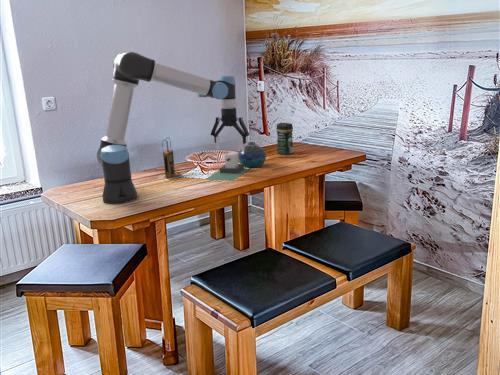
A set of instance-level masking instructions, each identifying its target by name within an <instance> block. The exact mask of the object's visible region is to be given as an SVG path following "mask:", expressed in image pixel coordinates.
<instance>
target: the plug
mask: <svg viewBox="0 0 500 375" xmlns="http://www.w3.org/2000/svg"><path fill="white" fill-rule="evenodd" d="M239 164H240V162H239V160H238V152H227V153H226V154H224V165H225V168H237V167H238V166H239Z"/></svg>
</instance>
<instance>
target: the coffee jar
mask: <svg viewBox="0 0 500 375" xmlns="http://www.w3.org/2000/svg"><path fill="white" fill-rule="evenodd" d="M293 130H294V127H293V124H292V123H290V122H279V123H277V124H276V135H277V143H276V144H277V145H276V152H277V154H279V155H291V154H293V153H294V143H293Z"/></svg>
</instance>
